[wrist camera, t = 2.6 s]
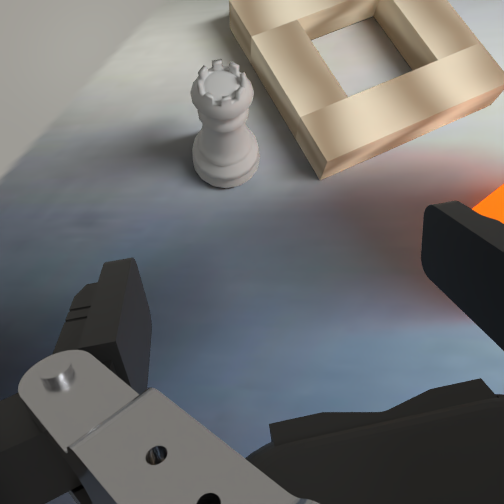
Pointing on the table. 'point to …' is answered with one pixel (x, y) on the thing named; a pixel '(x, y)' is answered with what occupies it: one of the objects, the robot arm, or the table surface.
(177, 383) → the table surface
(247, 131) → the rook chess piece
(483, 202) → the orange juice
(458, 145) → the table surface
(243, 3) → the wooden square ring
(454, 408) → the robot arm
